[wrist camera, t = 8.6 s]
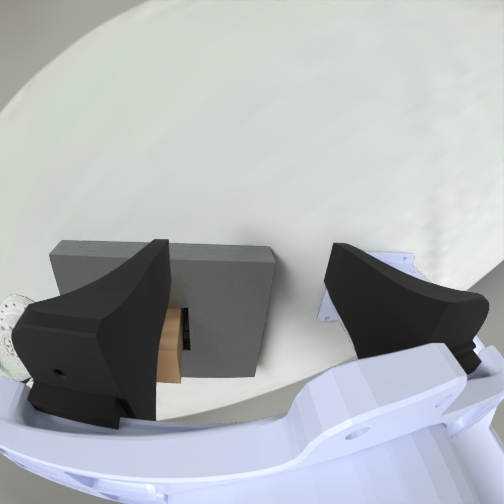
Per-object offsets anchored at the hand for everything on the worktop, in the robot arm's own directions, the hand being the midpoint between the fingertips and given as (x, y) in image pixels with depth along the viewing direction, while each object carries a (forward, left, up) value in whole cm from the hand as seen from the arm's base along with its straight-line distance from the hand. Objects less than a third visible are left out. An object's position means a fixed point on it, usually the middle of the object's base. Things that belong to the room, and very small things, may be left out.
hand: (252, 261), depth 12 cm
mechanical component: (+23, +16, -10) cm, 30 cm away
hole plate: (+6, +11, -9) cm, 16 cm away
